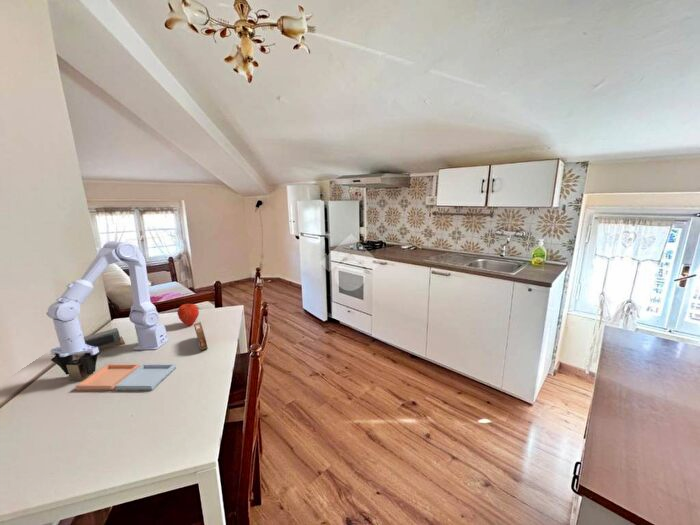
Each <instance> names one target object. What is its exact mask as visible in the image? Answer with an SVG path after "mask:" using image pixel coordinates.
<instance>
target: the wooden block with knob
mask: <svg viewBox="0 0 700 525" xmlns="http://www.w3.org/2000/svg"><path fill="white" fill-rule="evenodd" d="M78 359H79V357H78V358H75V359H73V362H71V363H69V364H67V365H66V366H67V370H68V373H69V374H68V376H69V380H70V381H71V382H82V381H83V380H85V379H86V378H88V377H89V376H91V375H93V374H94V372H93V373H92V374H90V375H88V374H87V372H86V370H85V367H84V365H83V364H82V363H81V362H80V361H79V360H78Z"/></svg>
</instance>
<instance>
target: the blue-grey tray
mask: <svg viewBox="0 0 700 525" xmlns="http://www.w3.org/2000/svg"><path fill="white" fill-rule="evenodd" d="M176 369H177V365H176V363H143V364H141V365H140V367H139V368H138V369H136V370H135V371H134V372H132V373H131V374H130V375H129V376H127V377H126V378H125V379H123V380H122V381H121V382H120V383H118V384H117V385H116V386H115V387H116V388H115V390H116V391H117V390H129V391H130V392H133V391H135V392H136V391H137V392H139V391H140V392H143V391H144V392H145V391H146V392H153V391H154V390H155V389H156V388H157V387H158V386H159V385H160V384H162V382H164V380H166V379H167V377H169V376H170V375H171V374H172V373H173V372H174V371H175V370H176ZM129 391H128V392H129Z"/></svg>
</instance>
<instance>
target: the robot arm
mask: <svg viewBox="0 0 700 525" xmlns="http://www.w3.org/2000/svg"><path fill="white" fill-rule="evenodd" d="M119 262H122V263H124V264H126V265H128V272H129V278H130V279H129V280H130V287H131V293H132V294H131V295H132V302H133V303H132V305H131V306H130V312H129V316H128V317H129V320H130V321H129V322H131V323H133V324H134V329H135V332H136V333H135V334H136V337H137V343H138V345H137V346H135V347H133V350H138V351H139V350H140V351H141V350H147V351H148V350H152V351H153V350H157V349H159V348H160V347H161V346H163V345H164V344H166V343H167V342H168V341H170V339H169V338H168V334H167V329H166V326H165V325H163V324H160V323H158V322H159V321H160V314H159V312H158V310H157V307H156V306H155V304H153V302H152V301H151V295H150V287H149V279H148V272H147V263H146V262H147V261H146V258H145V256H144V255H143V254H142V252H141V251H140V250H139V246H137V245H135V244H134V243H132V242H129V241H115V240H114V241H113V240H110V241H107V242H105V243H104V244H103V246H102V247H101V248H100V249H99V250H98V252H97V255H96V256H95V257H94V259H93V260H92V262H91V263H90V265H89V266H88V268H87V269H86V271H85V272H84V273H83V275H82V277H80V279H77V280H73V281H72V282H71V283H70V282H69V283H67V285H66V290H65V291H64V292H63V293H62V295H60V297H57V298H56V301H55V302H53V303H52V304H50V305H49V306H48V308H47V312H46V316H48V317H49V318H50V319H52V322H53V326H54V329H55V333H56V336H57V340H58V344H59V346H56V347H54V348H52V349H50V350H49V351H50V355H51V356H52V358H51V359H50V362H53V363H55V364H56V365H57V366H58V367H59V368H60V369H61V370H62V371H63V372H64V373H65V375H67V376H69V373H68V370H67V366H66V365H67V364H69V363H71V362H73V360H74V355H78V354H84V356H82V357H80V358H79V357H78V358H79V359H78V360H79V361H80V362H81V363H82V364H83V365H84V367H85V370H86V372H87V374H88V375H90V374H92V373H93V374H94V373H96V370H97V369H96V368H97V360H98V358H99V355H100V354H101V351H99V350H98V347H93V346H90V345H87V344H85V340H84V337H85V336H84V333H83V330H82V327H81V326H82V325H81V322H80V319H79V315H80V314H81V306H82V305H83V304H84V302H85V301H86V299H87V298H88V297H89V296H90V294H91V293H92V291H93V290H94V285H93V283H95V281H96V280H97V279H98V278H99V277H100V276H101V274H102V273H103V272H104V271H105V270H106V269H107V268H108V267H109V266H110V265H112V264H116V263H119ZM53 356H54V357H53ZM93 374H92V375H93ZM90 376H91V375H90Z"/></svg>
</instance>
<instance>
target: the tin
mask: <svg viewBox="0 0 700 525" xmlns="http://www.w3.org/2000/svg"><path fill="white" fill-rule="evenodd" d="M193 325H194V327H193V328H194V329H195V334H196V338H197V341H198V346H199V349H200V350H201V351H203V350H206V349H208V344H207V340H206V335H205V331H204V328H203V326H202V322H201V321H199V322H197V323H194V324H193Z"/></svg>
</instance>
